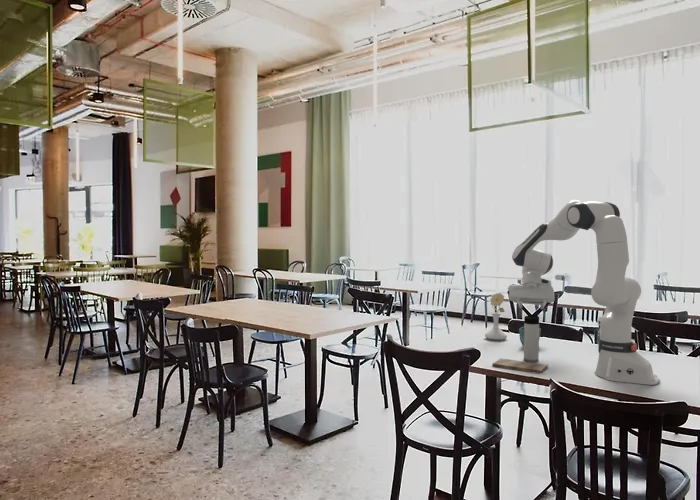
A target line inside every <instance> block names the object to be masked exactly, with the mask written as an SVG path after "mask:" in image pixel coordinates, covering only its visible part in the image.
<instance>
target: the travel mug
mask: <svg viewBox="0 0 700 500" xmlns="http://www.w3.org/2000/svg"><path fill="white" fill-rule="evenodd" d="M523 322H524V324H523V325H524V326H523V327H524V346H523V362H531V363H538V362H539V359H540V358H539V357H540V355H539V353H540V349H539V348H540V345H539V344H540V339H539V328H540V316H539V315H537V314H532V315H531V314H529V315H525V316H524V321H523Z"/></svg>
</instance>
